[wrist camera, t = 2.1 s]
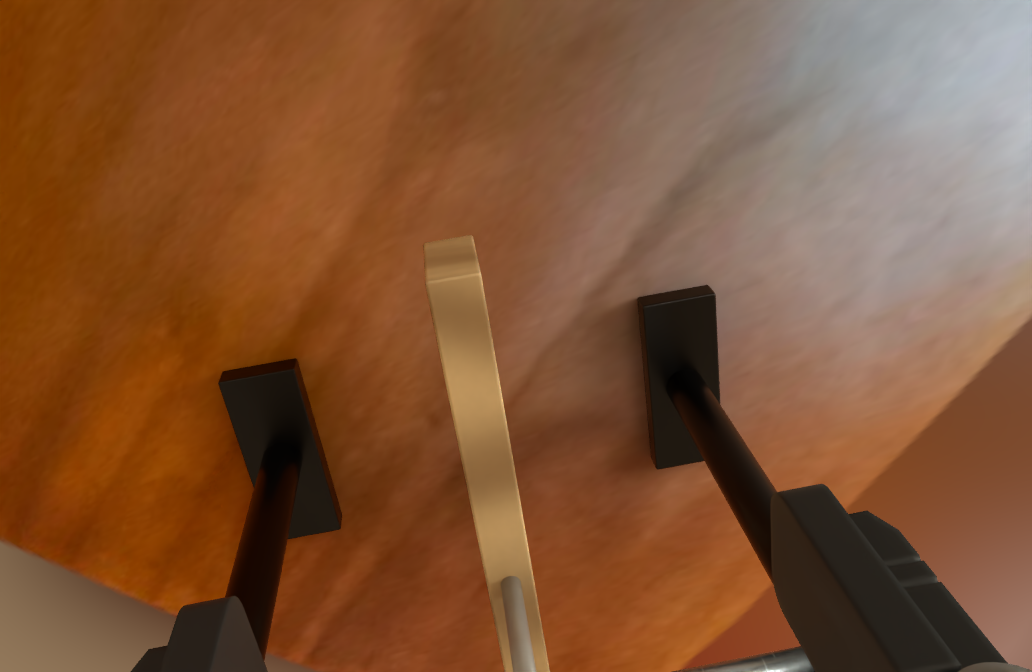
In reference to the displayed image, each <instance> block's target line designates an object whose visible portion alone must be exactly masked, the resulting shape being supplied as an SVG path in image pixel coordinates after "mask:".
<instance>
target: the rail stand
mask: <svg viewBox="0 0 1032 672" xmlns="http://www.w3.org/2000/svg"><path fill="white" fill-rule="evenodd" d="M637 300H638V312H639V323H640V335H641V346H642V358H643V369H644V381H645V392H646V404H647V415H648V426H649V438H650V449H651V458H652V460H653V462H654V465H655V467H656V469H663V468H669V467H674V466H679V465H685V464H690V463H695V462H701V461H705V462H706V464H707V466H708V468H709V470H710V471H711V473H712V475H713V477H714V479H715V480H716V482H717V484H718V486H719V488H720V489H721V491H722V493H723V495H724V497H725V498H726V500H727V502H728V504H729V506H730V507H731V509H732V511H733V513H734V515H735V516H736V518H737V520H738V522H739V524H740V525H741V527H742V529H743V531H744V533H745V534H746V536H747V538H748V540H749V542H750V543H751V545H752V547H753V549H754V551H755V552H756V554H757V556H758V558H759V560H760V561H761V563H762V565H763V567H764V569H765V570H766V572H767V574H768V576H769V578H770V579H771V581H772V583H773V578H772V560H771V510H770V504H771V497H772V495H773V493H776V492H777V491H776V490H775V488H774V486H773V485H772V483H771V482H770V480H769V479H768V477H767V476H766V474H765V473H764V471H763V470H762V468H761V467H760V465H759V463H758V462H757V460H756V459H755V457H754V456H753V454H752V453H751V451H750V450H749V448H748V447H747V445H746V444H745V442H744V441H743V439H742V437H741V436H740V434H739V433H738V431H737V430H736V428H735V427H734V425H733V424H732V422H731V421H730V419H729V418H728V416H727V415H726V413H725V411H724V410H723V408H722V407H721V405H720V388H719V365H718V342H717V318H716V295H715V293H714V292H713V290H712V289H711V288H710V287H709V286H708V285H705V286H699V287H693V288H688V289H682V290H677V291H671V292H665V293H660V294H654V295H649V296H643V297H638V299H637ZM218 384H219V387H220V390H221V393H222V396H223V399H224V401H225V404H226V407H227V410H228V413H229V416H230V419H231V422H232V425H233V428H234V431H235V434H236V437H237V440H238V443H239V446H240V449H241V452H242V454H243V457H244V460H245V463H246V466H247V469H248V472H249V475H250V478H251V481H252V484H253V487H254V491H253V495H252V498H251V502H250V506H249V510H248V513H247V517H246V521H245V525H244V528H243V532H242V536H241V540H240V543H239V547H238V551H237V554H236V558H235V562H234V566H233V569H232V573H231V577H230V581H229V584H228V588H227V592H226V596H225V598H226V597H231V596H236V597H238V598H239V600H240V601H241V603H242V605H243V607H244V610H245V613H246V615H247V618H248V621H249V623H250V626H251V629H252V631H253V634H254V636H255V639H256V642H257V644H258V647H259V650H260V652H261V655H262V658H263V660H264V659H265V654H266V649H267V644H268V639H269V633H270V628H271V623H272V618H273V612H274V607H275V602H276V597H277V592H278V586H279V581H280V576H281V571H282V565H283V560H284V555H285V550H286V545H287V539H291V538H297V537H302V536H307V535H313V534H318V533H323V532H329V531H334V530H339V529H341V520H342V513H341V510H340V507H339V503H338V500H337V496H336V493H335V489H334V486H333V482H332V479H331V475H330V472H329V468H328V465H327V462H326V458H325V455H324V451H323V448H322V444H321V441H320V437H319V434H318V430H317V427H316V423H315V420H314V417H313V413H312V410H311V406H310V403H309V399H308V396H307V392H306V389H305V385H304V382H303V378H302V375H301V372H300V368H299V365H298V361H297V359H290V360H284V361H279V362H273V363H268V364H262V365H256V366H251V367H245V368H240V369H234V370H228V371H224V372H223V373H222V375H221V378H220V380H219V383H218ZM773 585H774V584H773ZM673 672H815V670H814V668H813V667H812V665H811V663H810V661H809V659H808V658H807V656H806V654H805V652H804V650H803V648H802V647H801V646H799V647H795V648H789V649H785V650H779V651H774V652H769V653H764V654H759V655H754V656H749V657H743V658H738V659H733V660H729V661H723V662H719V663H713V664H708V665H704V666H698V667H693V668H688V669H683V670H678V671H673Z"/></svg>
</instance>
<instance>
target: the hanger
mask: <svg viewBox="0 0 1032 672" xmlns="http://www.w3.org/2000/svg"><path fill="white" fill-rule="evenodd" d="M423 250H424V268H425V285H426V290H427V295H428V300H429V305H430V310H431V314H432V319H433V324H434V329H435V334H436V339H437V344H438V349H439V353H440V358H441V363H442V368H443V373H444V378H445V383H446V388H447V392H448V397H449V402H450V407H451V412H452V417H453V422H454V427H455V432H456V436H457V441H458V446H459V451H460V456H461V461H462V466H463V471H464V475H465V480H466V485H467V490H468V495H469V500H470V505H471V510H472V514H473V519H474V524H475V529H476V534H477V539H478V544H479V549H480V553H481V558H482V563H483V568H484V573H485V578H486V583H487V588H488V593H489V597H490V602H491V607H492V612H493V617H494V622H495V627H496V632H497V636H498V641H499V646H500V651H501V656H502V661H503V666H504V671H505V672H550V670H549V664H548V658H547V652H546V646H545V641H544V635H543V629H542V623H541V618H540V612H539V606H538V600H537V594H536V589H535V583H534V577H533V571H532V565H531V560H530V554H529V548H528V542H527V537H526V531H525V525H524V519H523V513H522V508H521V502H520V496H519V490H518V484H517V479H516V473H515V467H514V461H513V456H512V450H511V444H510V438H509V432H508V427H507V421H506V415H505V409H504V403H503V398H502V392H501V386H500V380H499V375H498V369H497V363H496V357H495V351H494V346H493V340H492V334H491V328H490V323H489V317H488V311H487V305H486V299H485V294H484V288H483V282H482V276H481V271H480V267H479V262H478V257H477V253H476V248H475V243H474V239H473V236H471V235H468V236H462V237H457V238H451V239H445V240H440V241H434V242H428V243H425V244H424V245H423Z"/></svg>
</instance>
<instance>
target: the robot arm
mask: <svg viewBox="0 0 1032 672" xmlns="http://www.w3.org/2000/svg"><path fill="white" fill-rule="evenodd" d="M770 510H771V560H772V578H773V584H774V588H775V592H776V596H777V599H778V602H779V604H780V607H781V609H782V612H783V614H784V615H785V617H786V619H787V621H788V623H789V625H790V627H791V628H792V630H793V632H794V634H795V636H796V638H797V639H798V641H799V643H800V645H801V647H802V648H803V650H804V652H805V654H806V656H807V658H808V659H809V661H810V663H811V665H812V667H813V668H814V670H815V672H1032V671H1031V670H1029V669H1026V668H1023V667H1020V666H1016V665H1012V664H1008V663H1007V662H1006V661H1005V660H1004V658H1003V657H1002V656H1001V655H1000V654H999V652H998V651H997V650H996V649H995V648H994V646H993V645H992V644H991V643H990V641H989V640H988V639H987V638H986V637H985V635H984V634H983V633H982V631H981V630H980V629H979V628H978V627H977V625H976V624H975V623H974V622H973V621H972V619H971V618H970V617H969V616H968V614H967V613H966V612H965V611H964V610H963V608H962V607H961V606H960V605H959V603H958V602H957V601H956V600H955V599H954V597H953V596H952V595H951V594H950V592H949V591H948V590H947V589H946V588H945V586H944V585H943V584H942V583H941V582H938V581H937V576H936V575H935V574H934V573H933V572H932V570H931V569H930V568H929V567H928V566H927V564H926V563H925V562H924V561H921V560H920V557H919V554H918V553H917V552H916V551H915V549H914V548H913V547H912V546H911V545H910V543H909V542H908V541H907V540H906V538H905V537H904V536H903V535H902V534H901V532H900V531H899V530H898V529H896V528H894V527H893V526H891V525H890V524H888V523H886V522H885V521H883V520H881V519H880V518H878V517H877V516H874V515H873V514H872V513H870V512H868V511H863V512H858V513H853V514H848V513H847V512H846V511H845V509H844V508H843V507H842V505H841V504H840V503H839V501H838V500H837V499H836V497H835V496H834V495H833V493H832V492H831V491H830V490H829V488H828V487H827V486H825V485H824V484H817V485H812V486H807V487H802V488H797V489H792V490H786V491H781V492H776V493H773V495H772V497H771V504H770ZM131 672H268V671H267V668H266V666H265V663H264V660H263V658H262V655H261V652H260V650H259V647H258V644H257V642H256V639H255V636H254V634H253V631H252V629H251V626H250V623H249V621H248V618H247V615H246V613H245V610H244V607H243V605H242V603H241V601H240V600H239V598H238V597H236V596H231V597H226V598H220V599H215V600H210V601H205V602H200V603H195V604H189V605H185V606H183V607H182V608H181V609H180V611H179V613H178V615H177V618H176V621H175V624H174V628H173V631H172V634H171V637H170V640H169V643H168V646H163V647H158V648H153V649H149V650H148V651H147V652H146V653H145V655H144V656H143V657H142V658H141V660H140V661H139V662H138V663H137V665H136V666H135V667H134V668H133V670H132V671H131Z"/></svg>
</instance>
